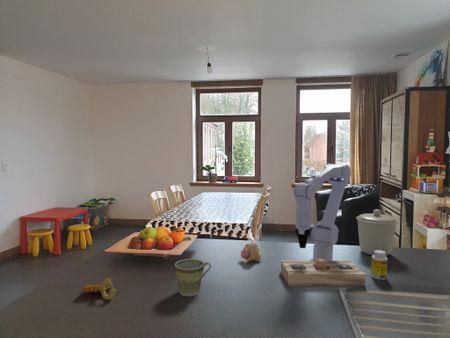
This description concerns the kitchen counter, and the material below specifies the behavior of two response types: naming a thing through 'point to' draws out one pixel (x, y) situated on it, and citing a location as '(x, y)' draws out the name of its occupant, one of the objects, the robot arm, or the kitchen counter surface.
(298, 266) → the knob
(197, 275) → the ceramic cup
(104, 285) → the ornament
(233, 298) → the kitchen counter surface
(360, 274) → the mount
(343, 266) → the knob
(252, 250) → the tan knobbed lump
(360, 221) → the canister
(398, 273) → the kitchen counter surface
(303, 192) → the robot arm
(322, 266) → the knob middle
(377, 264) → the supplement bottle
